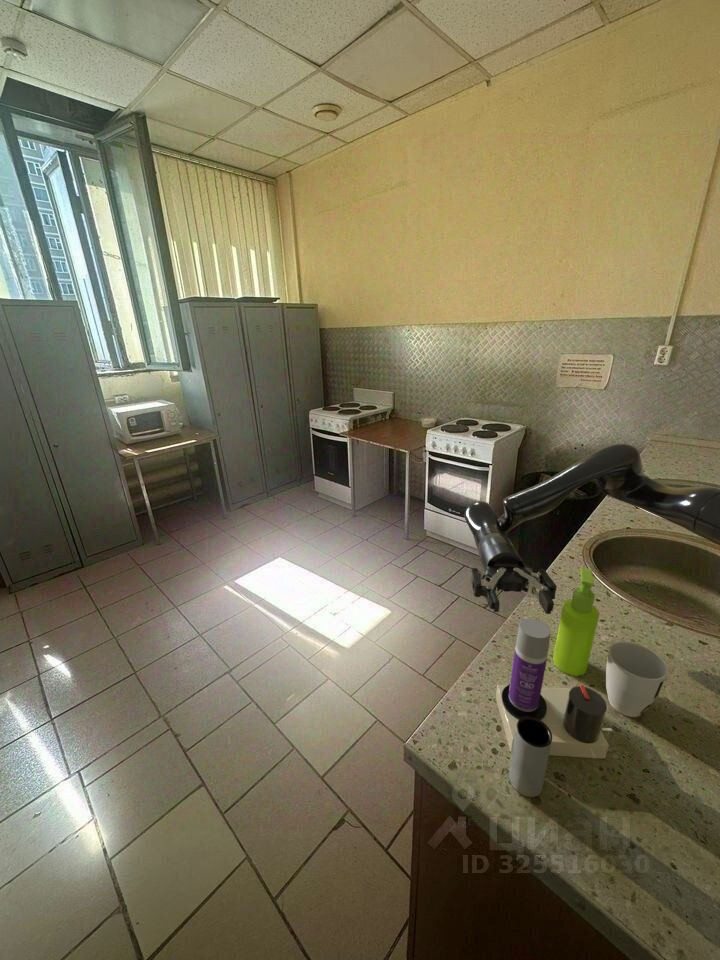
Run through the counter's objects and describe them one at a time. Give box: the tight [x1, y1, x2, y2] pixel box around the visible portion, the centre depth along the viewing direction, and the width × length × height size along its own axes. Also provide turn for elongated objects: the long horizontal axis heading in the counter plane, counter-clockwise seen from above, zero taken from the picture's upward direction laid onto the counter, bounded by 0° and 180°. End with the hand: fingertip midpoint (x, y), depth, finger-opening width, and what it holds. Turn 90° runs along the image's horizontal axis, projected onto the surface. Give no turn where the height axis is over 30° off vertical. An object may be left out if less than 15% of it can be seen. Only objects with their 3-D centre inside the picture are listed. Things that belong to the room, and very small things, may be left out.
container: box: [509, 617, 552, 712], centre depth 63 cm, size 5×5×15 cm
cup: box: [605, 641, 669, 718], centre depth 67 cm, size 8×8×10 cm
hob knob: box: [563, 684, 608, 744], centre depth 60 cm, size 5×5×6 cm
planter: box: [508, 716, 552, 798], centre depth 56 cm, size 4×4×10 cm
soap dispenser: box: [552, 566, 600, 677], centre depth 74 cm, size 6×7×20 cm
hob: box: [495, 684, 613, 760], centre depth 64 cm, size 16×12×3 cm
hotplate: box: [502, 684, 547, 720], centre depth 66 cm, size 7×7×1 cm
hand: (523, 608), depth 66 cm, fingers open, 8 cm apart
